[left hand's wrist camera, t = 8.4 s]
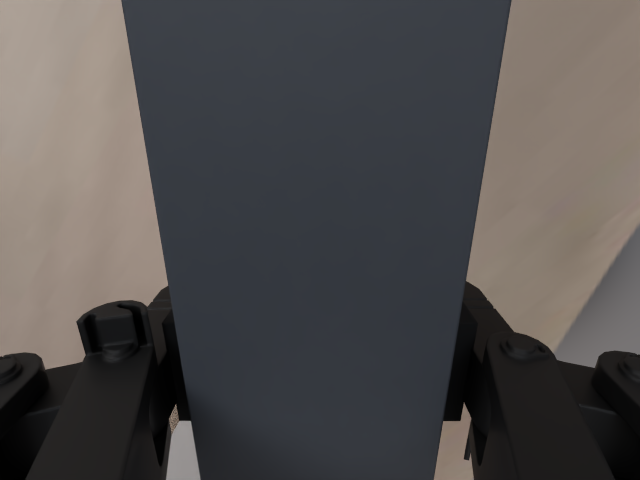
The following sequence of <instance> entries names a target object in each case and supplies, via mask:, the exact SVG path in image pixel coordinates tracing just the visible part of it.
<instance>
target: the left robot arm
mask: <svg viewBox="0 0 640 480" xmlns="http://www.w3.org/2000/svg"><path fill="white" fill-rule="evenodd" d="M76 322H77V325H78V329H79V333H80V336H81V340H82V343H83V347H84V350H85V354H86V356H85V358H84V360H83V362H80V363H76V364H72V365H67V366H62V367H57V368H52V369H47V370H45V367H44V364H43V361H42V358H41V357H39V356H38V355H37V354H33V353H17V354H9V355H5V356H3V357H2V356H1V357H0V480H166V476H167V468H168V460H169V451H170V443H171V428H170V423H169V417H170V415H171V413H172V411H173V409H174V407H175V404H176V405H177V411H178V416H179V421H191V419H190V413H189V407H188V401H187V395H186V389H185V383H184V377H183V370H182V364H181V358H180V352H179V346H178V340H177V334H176V328H175V322H174V316H173V310H172V304H171V298H170V292H169V286H167V287H165V288H164V289H162V290H161V291H160V292H159V293H158V295H157V296H156V297H155V298H154V300H153V302H151V303H150V304H149V306H148V307H147V306H146V305H144V304H143V303H142V302H137V301H133V300H128V301H116V302H111V303H107V304H104V305H101V306H99V307H96V308H93V309H92V310H90V311H88V312H87V313H85V314H83V315H82V316H81V317H80V318H79V319H78V320H77V321H76ZM464 403H465V405H466V407H467V409H468V412H469V414H470V416H471V423H470V428H469V433H468V438H467V443H466V449H465V455H464V459H465V460H469V458H470V453H471V459H472V467H473V475H474V480H640V355H636V354H635V353H630V352H622V351H609V352H604V353H603V354H601V355H600V356H599V357H598V360H597V363H596V366H595V368H592V367H587V366H582V365H577V364H571V363H567V362H562V361H558V360H557V359H556V357H555V355H554V354H553V353H552V351H551V350H550V349H549V348H548V347H547V346H546V345H544V344H543V343H541V342H540V341H539V340H537V339H534V338H532V337H530V336H527V335H524V334H520V333H516V332H514V331H513V330H512V329H511V328H510V326H509V325H508V324H507V323H506V321H505V320H504V319H503V318H502V317H501V315H500V314H499V313H498V312H497V310H496V309H494V308H493V306H492V304H491V303H490V302H489V301H488V300H487V298H486V297H485V296H484V295H483V293H482V292H481V291H480V290H479V289H478V288H477V287H475V286H473V285H472V284H470V283H468V282H467V281H466V283H465V289H464V295H463V301H462V307H461V313H460V320H459V326H458V332H457V338H456V344H455V350H454V357H453V363H452V369H451V375H450V381H449V387H448V393H447V400H446V406H445V412H444V418H443V421H460V420H461V415H462V409H463V404H464Z"/></svg>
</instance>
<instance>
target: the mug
mask: <svg viewBox="0 0 640 480" xmlns="http://www.w3.org/2000/svg"><path fill="white" fill-rule="evenodd" d="M166 480H200V474H199V467H198V461H197V455H196V449H195V443H194V437H193V431H192V425H191V421H179V422H178V424H177V426H176V427H175V430H174V431H173V433H172V435H171V443H170V451H169V460H168V468H167V476H166Z"/></svg>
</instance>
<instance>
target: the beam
mask: <svg viewBox="0 0 640 480" xmlns="http://www.w3.org/2000/svg"><path fill="white" fill-rule="evenodd" d="M121 1H122V7H123V13H124V19H125V25H126V31H127V37H128V43H129V49H130V55H131V61H132V67H133V73H134V79H135V85H136V92H137V98H138V104H139V110H140V116H141V122H142V128H143V134H144V140H145V146H146V152H147V158H148V164H149V170H150V176H151V182H152V189H153V195H154V201H155V207H156V213H157V219H158V225H159V231H160V237H161V243H162V249H163V255H164V261H165V267H166V273H167V279H168V286H169V292H170V298H171V304H172V310H173V316H174V322H175V328H176V334H177V340H178V346H179V352H180V358H181V364H182V370H183V377H184V383H185V389H186V395H187V401H188V407H189V413H190V419H191V425H192V431H193V437H194V443H195V449H196V455H197V461H198V467H199V474H200V480H434V474H435V467H436V461H437V455H438V449H439V443H440V437H441V430H442V424H443V418H444V412H445V406H446V400H447V393H448V387H449V381H450V375H451V369H452V363H453V357H454V350H455V344H456V338H457V332H458V326H459V320H460V313H461V307H462V301H463V295H464V289H465V283H466V276H467V270H468V264H469V258H470V252H471V246H472V240H473V233H474V227H475V221H476V215H477V209H478V203H479V196H480V190H481V184H482V178H483V172H484V166H485V159H486V153H487V147H488V141H489V135H490V129H491V123H492V116H493V110H494V104H495V98H496V92H497V86H498V79H499V73H500V67H501V61H502V55H503V49H504V42H505V36H506V30H507V24H508V18H509V12H510V6H511V0H121Z"/></svg>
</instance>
